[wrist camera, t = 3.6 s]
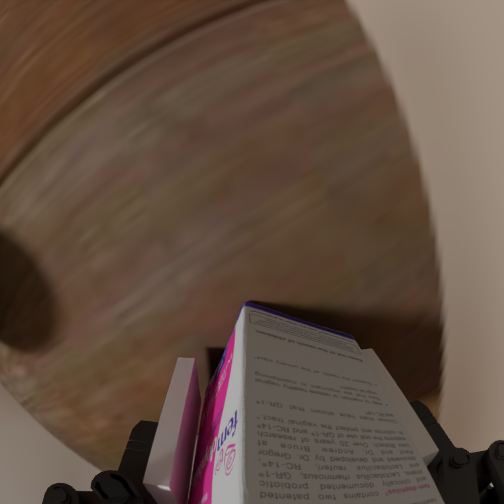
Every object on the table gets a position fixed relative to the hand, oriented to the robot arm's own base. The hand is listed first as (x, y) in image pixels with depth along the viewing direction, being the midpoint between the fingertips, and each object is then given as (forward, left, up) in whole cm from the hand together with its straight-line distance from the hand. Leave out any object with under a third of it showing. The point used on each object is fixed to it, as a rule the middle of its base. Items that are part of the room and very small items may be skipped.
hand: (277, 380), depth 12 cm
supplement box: (0, 0, -1) cm, 1 cm away
